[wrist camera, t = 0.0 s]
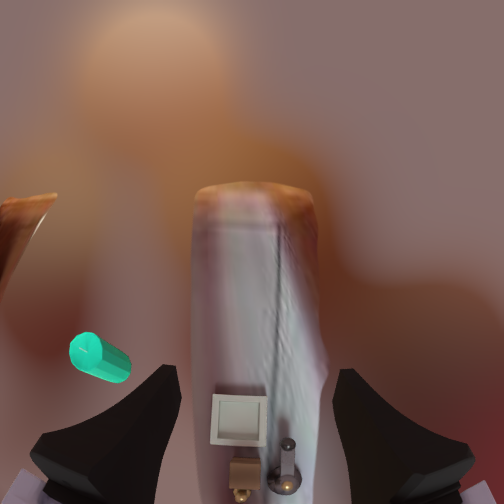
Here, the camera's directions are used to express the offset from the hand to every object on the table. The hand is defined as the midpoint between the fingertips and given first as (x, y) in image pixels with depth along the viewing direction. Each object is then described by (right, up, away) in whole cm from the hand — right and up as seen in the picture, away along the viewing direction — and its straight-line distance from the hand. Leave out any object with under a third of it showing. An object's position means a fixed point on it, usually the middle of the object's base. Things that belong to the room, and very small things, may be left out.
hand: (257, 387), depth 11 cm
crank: (+5, -25, +21) cm, 33 cm away
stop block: (-1, -26, +21) cm, 34 cm away
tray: (-2, -20, +26) cm, 32 cm away
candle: (-23, -14, +30) cm, 41 cm away
